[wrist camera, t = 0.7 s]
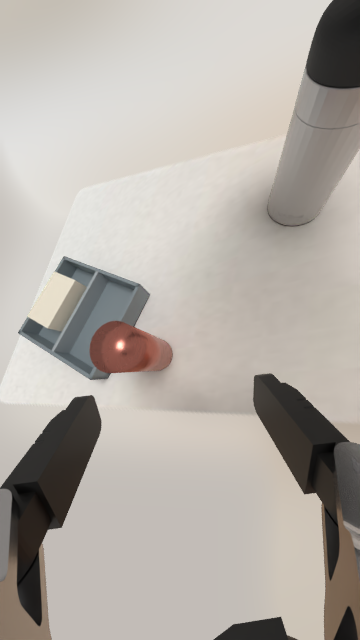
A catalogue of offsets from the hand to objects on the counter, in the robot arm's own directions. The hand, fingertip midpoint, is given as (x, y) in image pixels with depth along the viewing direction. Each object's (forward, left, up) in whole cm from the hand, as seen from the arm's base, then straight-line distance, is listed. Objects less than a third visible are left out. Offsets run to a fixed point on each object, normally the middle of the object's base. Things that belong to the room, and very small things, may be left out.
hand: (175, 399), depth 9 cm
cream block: (0, -32, -21) cm, 38 cm away
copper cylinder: (+1, -10, -22) cm, 24 cm away
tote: (0, -27, -22) cm, 34 cm away
